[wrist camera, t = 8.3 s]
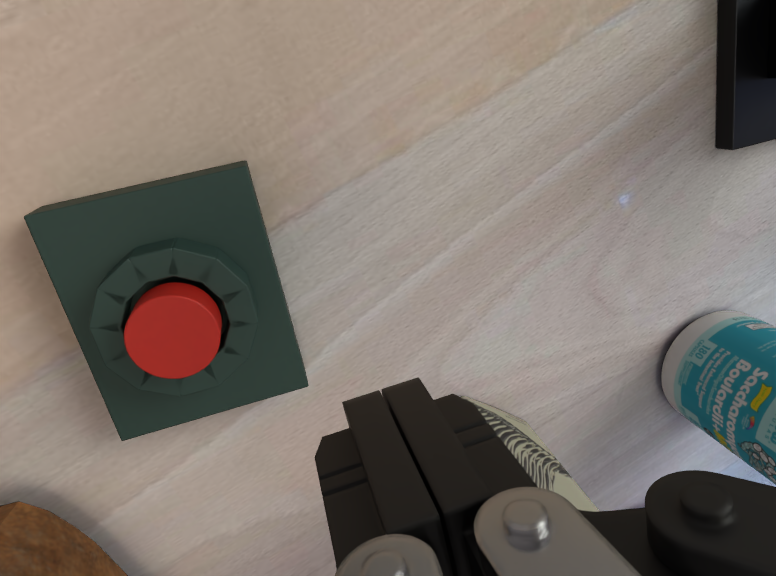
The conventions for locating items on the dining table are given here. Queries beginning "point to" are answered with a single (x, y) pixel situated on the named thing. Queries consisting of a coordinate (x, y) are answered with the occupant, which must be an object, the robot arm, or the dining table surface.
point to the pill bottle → (727, 384)
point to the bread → (48, 546)
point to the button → (173, 330)
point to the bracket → (746, 73)
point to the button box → (166, 265)
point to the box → (534, 455)
